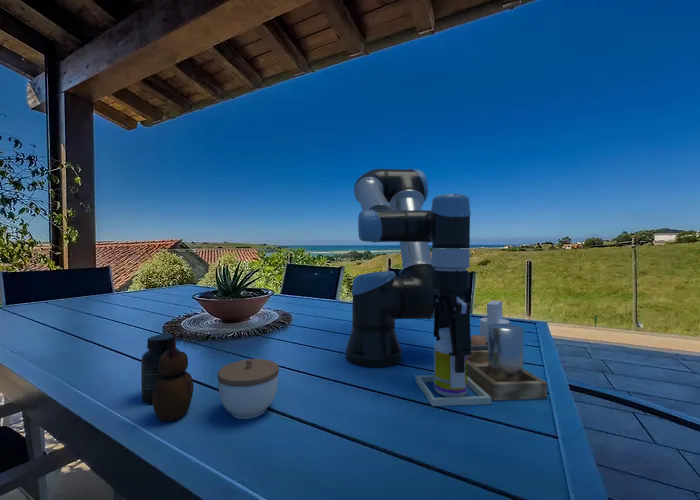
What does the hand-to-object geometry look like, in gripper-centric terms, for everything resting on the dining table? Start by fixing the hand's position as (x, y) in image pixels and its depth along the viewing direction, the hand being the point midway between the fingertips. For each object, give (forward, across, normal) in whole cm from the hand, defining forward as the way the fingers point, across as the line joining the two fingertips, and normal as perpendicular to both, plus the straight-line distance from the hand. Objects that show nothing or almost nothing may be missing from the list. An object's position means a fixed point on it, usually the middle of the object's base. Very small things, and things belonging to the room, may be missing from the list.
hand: (450, 379), depth 67 cm
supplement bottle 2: (+3, 0, 0) cm, 3 cm away
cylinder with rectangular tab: (+3, +38, -30) cm, 48 cm away
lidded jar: (+3, -5, +40) cm, 40 cm away
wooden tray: (+2, +6, -12) cm, 14 cm away
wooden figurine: (+3, -6, +53) cm, 53 cm away
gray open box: (+2, +20, -16) cm, 26 cm away
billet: (+2, +1, -12) cm, 13 cm away
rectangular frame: (+2, 0, 0) cm, 2 cm away
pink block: (+2, +21, -16) cm, 26 cm away
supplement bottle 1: (+3, +2, +59) cm, 59 cm away
